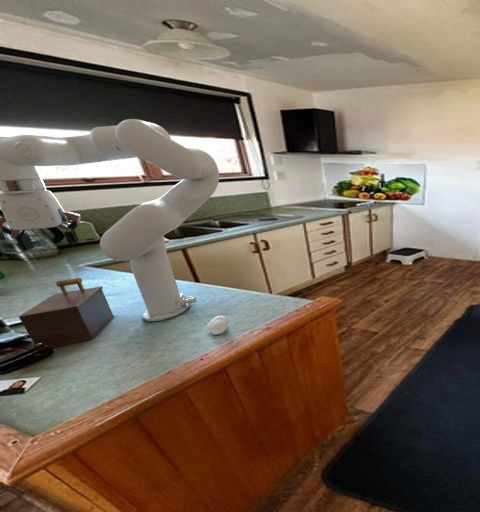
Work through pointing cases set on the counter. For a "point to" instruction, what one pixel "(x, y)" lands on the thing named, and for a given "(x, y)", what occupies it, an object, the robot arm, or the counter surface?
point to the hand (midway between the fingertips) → (52, 246)
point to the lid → (63, 299)
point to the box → (70, 323)
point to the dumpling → (218, 325)
